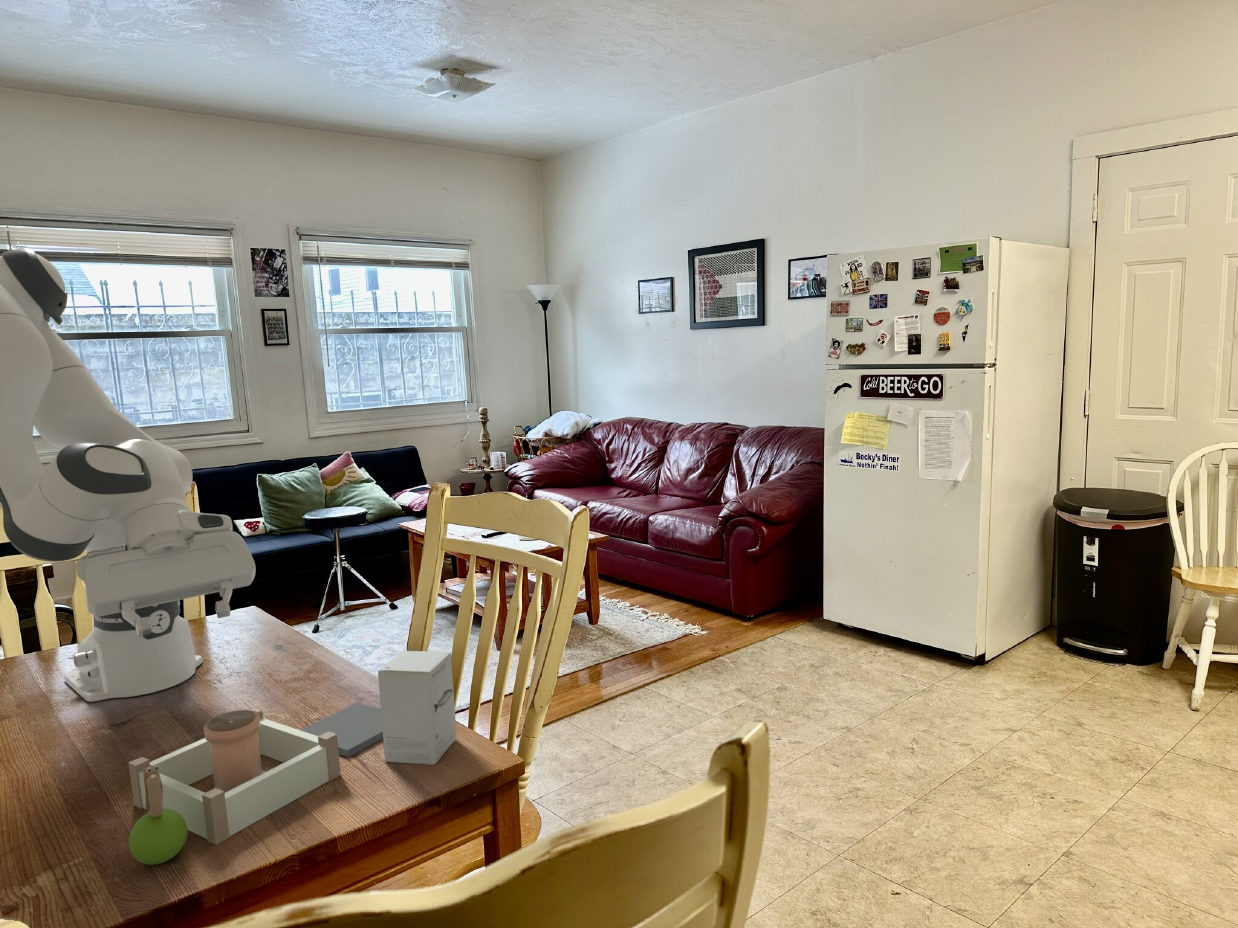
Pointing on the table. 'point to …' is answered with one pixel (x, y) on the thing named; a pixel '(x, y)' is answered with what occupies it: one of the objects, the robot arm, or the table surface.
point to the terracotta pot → (234, 748)
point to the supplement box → (417, 707)
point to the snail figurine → (156, 825)
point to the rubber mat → (351, 727)
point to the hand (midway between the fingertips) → (185, 623)
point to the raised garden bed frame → (251, 801)
